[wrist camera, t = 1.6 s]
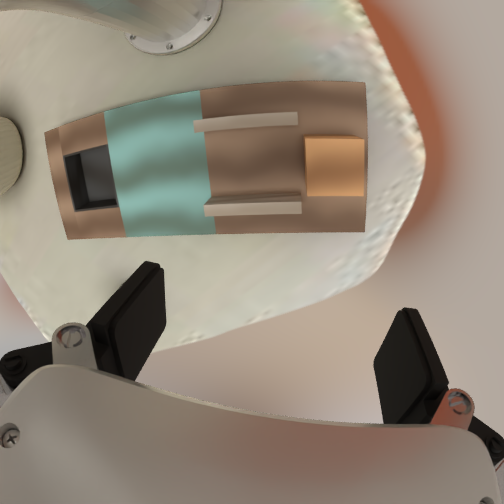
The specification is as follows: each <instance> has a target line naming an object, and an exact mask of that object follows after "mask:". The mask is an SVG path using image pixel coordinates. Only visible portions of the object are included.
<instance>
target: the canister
mask: <svg viewBox="0 0 504 504" xmlns="http://www.w3.org/2000/svg"><path fill="white" fill-rule="evenodd" d="M22 152H23V150H22V144H21V139H20V135H19V131H18V130H17V127H16V126H15V125H14V123H12V121H11V120H9V119H7V118H5V117H1V116H0V196H1V195H2V194H3V193H5V192H6V191H7V190H9V189H10V188H11V187H12V186H13V184H14V183H15V182H16V180H17V178H18V176H19V173H20V171H21V167H22V157H23V155H22Z"/></svg>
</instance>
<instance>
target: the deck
mask: <svg viewBox="0 0 504 504" xmlns="http://www.w3.org/2000/svg"><path fill="white" fill-rule="evenodd" d="M44 134H45V141H46V147H47V153H48V159H49V165H50V170H51V175H52V180H53V185H54V189H55V194H56V198H57V202H58V206H59V210H60V214H61V218H62V221H63V225H64V228H65V232H66V235H67V239H68V240H72V239H92V238H115V237H141V236H169V235H203V234H244V233H307V232H365V219H366V200H367V168H368V135H367V104H366V86H365V83H364V82H345V81H288V82H268V83H255V84H244V85H234V86H225V87H218V88H210V89H204V90H197V91H191V92H185V93H180V94H174V95H169V96H164V97H160V98H155V99H151V100H146V101H142V102H138V103H134V104H130V105H126V106H122V107H119V108H115V109H112V110H108V111H105V112H101V113H98V114H95V115H92V116H89V117H86V118H82V119H80V120H77V121H74V122H71V123H68V124H65V125H63V126H60V127H57V128H55V129H52V130H50V131H47V132H45V133H44ZM307 134H337V135H355V136H357V137H360V138H362V139H364V196H307V191H306V184H305V158H304V136H303V135H307Z"/></svg>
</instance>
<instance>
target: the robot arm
mask: <svg viewBox="0 0 504 504" xmlns="http://www.w3.org/2000/svg"><path fill="white" fill-rule="evenodd" d="M221 3H222V0H0V11H7V10H38V11H45V12H52V13H57V14H62V15H66V16H70V17H74V18H78V19H82V20H86V21H90V22H93V23H97V24H100V25H104V26H107V27H110V28H113V29H117V30H120V31H123V32H124V34H125V36H126V38H127V40H128V41H129V43H130V44H131V45H133V46H134V47H135V48H136V49H138V50H140V51H142V52H145V53H149V54H154V55H168V54H173V53H177V52H180V51H183V50H185V49H187V48H189V47H191V46H193V45H194V44H196V43H197V42H198V41H200V40H201V39H202V38H203V37H204V36H205V35H206V34H207V33H208V32H209V31H210V30H211V29H212V27H213V26H214V25H215V23H216V21H217V19H218V17H219V14H220V10H221ZM210 18H211V20H210V21H208V19H210ZM172 46H173V48H172V49H171V47H172ZM165 326H166V307H165V286H164V269H163V268H160V265H159V264H158V263H153V262H148V261H145V262H144V263H143V264H142V265H141V266H140V267H139V268H138V269H137V270H136V271H135V272H134V273H133V274H132V275H131V276H130V277H129V278H128V280H127V281H126V282H125V283H124V284H123V285H122V286H121V287H120V288H119V289H118V290H117V291H116V292H115V293H114V294H113V295H112V296H111V297H110V299H109V300H108V301H107V302H106V303H105V304H104V305H103V306H102V307H101V309H100V310H99V311H98V312H97V313H96V314H95V315H94V317H93V318H92V319H91V320H90V321H89V322H88V323H87V325H86V326H85V325H83V324H81V323H67V324H64V325H62V326H60V327H59V328H57V329H56V330H55V332H54V333H53V335H52V342H48V343H44V344H40V345H35V346H31V347H26V348H22V349H17V350H13V351H10V352H8V353H7V354H5V355H4V356H3V357H2V358H1V360H0V504H504V439H503V437H502V436H500V435H499V434H498V433H497V432H495V431H494V430H492V429H491V428H490V427H489V426H487V425H486V424H484V423H483V422H482V421H480V420H479V419H477V418H476V417H475V416H473V413H474V409H475V406H474V402H473V400H472V398H471V397H470V396H469V395H468V394H467V393H466V392H465V391H463V390H461V389H457V388H454V389H450V390H449V389H448V386H447V385H448V384H449V381H448V379H447V376H446V374H445V371H444V369H443V366H442V364H441V362H440V359H439V356H438V354H437V351H436V349H435V347H434V344H433V342H432V340H431V338H430V336H429V333H428V331H427V329H426V327H425V324H424V322H423V320H422V318H421V316H420V314H419V312H418V310H417V309H412V308H403V309H402V310H399V311H398V312H397V314H396V316H395V318H394V321H393V323H392V325H391V327H390V329H389V331H388V333H387V335H386V337H385V339H384V341H383V343H382V345H381V347H380V349H379V351H378V353H377V355H376V357H375V359H374V371H375V376H376V381H377V387H378V392H379V398H380V404H381V410H382V415H383V422H384V424H370V423H369V424H368V423H347V422H334V421H322V420H312V419H303V418H295V417H287V416H280V415H273V414H267V413H261V412H255V411H249V410H244V409H239V408H234V407H229V406H225V405H220V404H215V403H211V402H207V401H203V400H199V399H195V398H191V397H187V396H183V395H179V394H175V393H172V392H169V391H165V390H162V389H158V388H155V387H151V386H148V385H145V384H141V383H138V382H135V380H136V378H137V376H138V374H139V372H140V371H141V369H142V367H143V366H144V364H145V362H146V360H147V358H148V357H149V355H150V353H151V352H152V350H153V348H154V346H155V345H156V343H157V341H158V339H159V338H160V336H161V334H162V333H163V331H164V329H165Z"/></svg>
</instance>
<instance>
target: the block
mask: <svg viewBox="0 0 504 504" xmlns="http://www.w3.org/2000/svg"><path fill="white" fill-rule="evenodd" d="M303 136H304V158H305V184H306V191H307V196H364V139H362V138H360V137H357V136H355V135H337V134H307V135H303Z"/></svg>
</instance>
